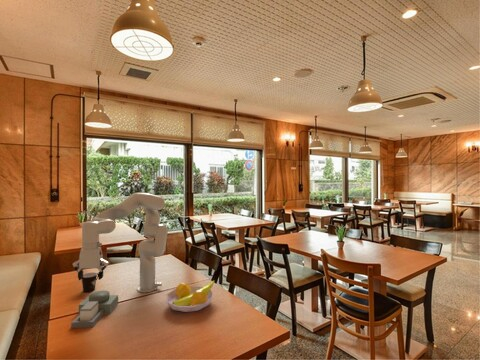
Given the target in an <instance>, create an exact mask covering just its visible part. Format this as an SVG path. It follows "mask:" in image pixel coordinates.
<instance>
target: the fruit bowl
mask: <svg viewBox="0 0 480 360" xmlns="http://www.w3.org/2000/svg"><path fill="white" fill-rule="evenodd" d="M214 283H215V280H212V282H210V283H208V284H206V285H204V286H200V285H197V286H196V285H190V284H188V283H186V282H182V283H179V284H178V285H177V286H176V288H174V289H173V290H171V291H169V292H168V293H167V294H166V295H165V298H166V299H165V302H166V303H167V305H168V306H169V307H170V308H171V309H172V310H173V311H178V312H179V311H180V312H183V313H184V312H185V313H190V312H197V311H199V310H202V309H203V308H206V307H208V306H210V304H211V302H212V300H213V298H214V294H213V292H212V290H211V289H212V288H213V286H214ZM190 305H192V307H191V306H190Z"/></svg>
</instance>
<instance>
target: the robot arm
mask: <svg viewBox="0 0 480 360" xmlns="http://www.w3.org/2000/svg"><path fill="white" fill-rule="evenodd" d="M165 201H166V200H165V199H164V198H163V197H162V196H159V195H155V194H151V193H147V192H134V193H131V194H130V195H129V196H128V197H127V198H125V199H124V200H122V201H121V202H120V203H119V204H117V205H115V206H113V207H110V208H107V209H105V210H102V211H101V212H100V213H98V214H97V215H95V216H94V217H93V218H92V219H91V220H88V221H84V222H83V223H82V225H81V234H82V235H81V240H82V241H81V249H80V251H79V258H78V260H76V261H74V262H73V263H72V266H73V269H74V270H75V271H76V272H77V278H78V281H82V278H83V274H84V270H83V269H97V270H98V272H97V273H98V275H97V276H98V279H97V280H101V279H103V278H104V271H105V270H106V269H107V267H108V265H109V263H110V262H109V261H107V260H106V259H104V258H103V251H102V246H103V244H102V243H101V242H100V235H104V234H105V235H106V234H110V233H112V232H113V231H115V229H116V222H115V221H114V220H118V219H123V218H127V217H128V216H131V214H132V213H133V212H134V211H136V210H137V209H139V208H141V207H142V209H143V211H144V212H145V221H144V226H143V227H144V228H143V236H144V237H146V238H149V239H144V240H142V241H140V242H139V244H138V249H137V250H138V254H139V285H138V286H137V287H136V290H137V292H139V293H151V292H154V291H156V290H157V289H158V287H162V286H163V283H162V282H161V281H159V282H158V281H157V279H156V258H159V257H162V256H163V255H164V253H165V251H166V246H167V240H168V233H169V232H168V227H167V226H166V225H165V224H162V223H160V212H159V211H160V210H162V209H164V207H165V205H166V202H165ZM153 239H154V240H153ZM155 257H156V258H155Z"/></svg>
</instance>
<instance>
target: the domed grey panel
mask: <svg viewBox="0 0 480 360" xmlns="http://www.w3.org/2000/svg"><path fill="white" fill-rule="evenodd" d="M89 301H98V313H97V315H96V316H95V317H94V318H93V319H92V320H89V321H80V309H81V308H82V307H83V306H84V305H85V304H86V303H87V302H89ZM118 305H119V294H110V291H109V290H106V289H105V290H104V289H102V290H97V291H92V292H90V294H89V295H87V297H85V299H84V300H83V301H81V302H80V303H79V304H78V316H76V317H75V318H74V319H73V320H72V321H71V323H70V328H72V329H75V328H76V329H77V328H81V329H82V328H94V327H95V325H97V323H98V322H99V321H100V319H101V318H102V317H103V316H104V315H109V314H111V313H112V312H113V310H114V309H115V308H116V307H118Z"/></svg>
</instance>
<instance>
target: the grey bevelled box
mask: <svg viewBox="0 0 480 360" xmlns="http://www.w3.org/2000/svg"><path fill="white" fill-rule="evenodd" d="M97 313H98V301H89V302H87V303H86V304H85V305H84V306H83V307H82V308H81V309H80V314H79V315H80V321H89V320H92V319H93V318H94V317H95V316H96V315H97Z"/></svg>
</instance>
